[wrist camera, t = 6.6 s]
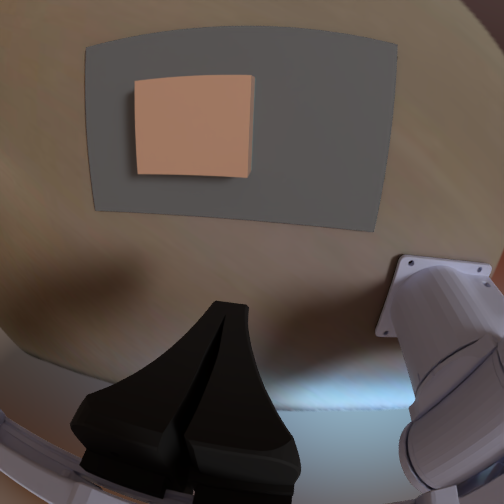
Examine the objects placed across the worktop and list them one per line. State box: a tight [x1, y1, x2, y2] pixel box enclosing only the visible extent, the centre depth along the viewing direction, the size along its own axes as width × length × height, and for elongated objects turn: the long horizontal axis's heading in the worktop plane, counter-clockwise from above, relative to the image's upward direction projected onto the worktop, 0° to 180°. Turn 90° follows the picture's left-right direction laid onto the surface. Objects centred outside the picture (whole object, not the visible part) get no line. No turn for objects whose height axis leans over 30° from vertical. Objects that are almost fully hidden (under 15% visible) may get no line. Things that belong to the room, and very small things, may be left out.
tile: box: [135, 75, 255, 178], centre depth 17 cm, size 2×6×7 cm
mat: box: [85, 26, 397, 232], centre depth 18 cm, size 21×13×1 cm, turn 88°
